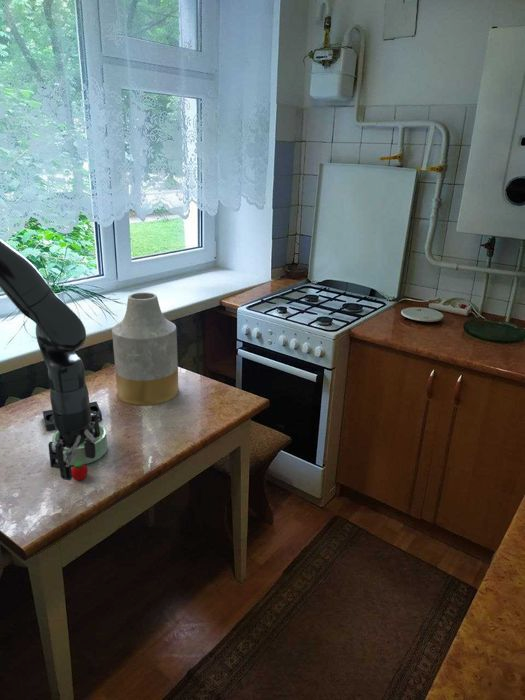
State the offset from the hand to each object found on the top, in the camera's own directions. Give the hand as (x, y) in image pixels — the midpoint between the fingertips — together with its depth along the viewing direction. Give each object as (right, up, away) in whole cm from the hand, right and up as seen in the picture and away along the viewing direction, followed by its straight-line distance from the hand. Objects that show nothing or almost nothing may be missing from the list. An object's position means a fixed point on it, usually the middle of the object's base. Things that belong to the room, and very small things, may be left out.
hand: (79, 467), depth 111 cm
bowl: (-3, +1, +11) cm, 11 cm away
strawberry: (0, -3, +1) cm, 3 cm away
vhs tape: (-11, +7, +25) cm, 29 cm away
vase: (+6, +13, +42) cm, 45 cm away
